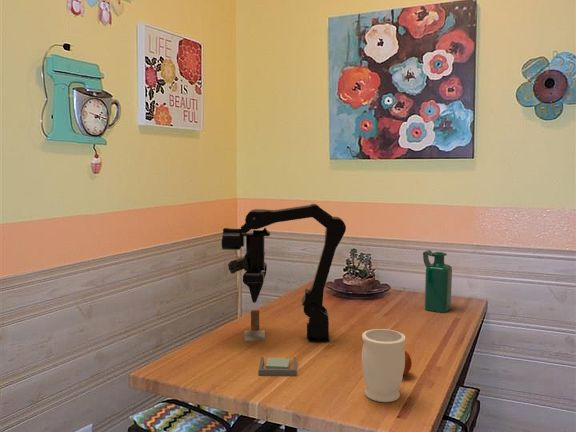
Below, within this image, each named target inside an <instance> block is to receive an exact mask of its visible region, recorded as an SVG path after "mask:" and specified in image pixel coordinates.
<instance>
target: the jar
mask: <svg viewBox="0 0 576 432" xmlns="http://www.w3.org/2000/svg"><path fill="white" fill-rule="evenodd" d="M361 338H362V340H363V344H362V349H361V368H362V369H361V370H362V376H363V381H364V384H365V386H366V389H365V391H364V394H365V396H366V397H367V398H368V399H370V400H371V401H372V400H373V401H375V402H380V403H390V402H395V401H397V400H398V399H400V395H401V394H400V391H399V389H400V387H401V385H402V382H403V377H404V375H403V372H404V367H405V351H406V350H405V347H404V344H405V342H406V336H405V334H404V333H402V332H400V331H397V330H392V329H387V328H375V329H369V330H366V331H364V332H362V334H361Z"/></svg>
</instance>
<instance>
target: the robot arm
mask: <svg viewBox="0 0 576 432" xmlns="http://www.w3.org/2000/svg"><path fill="white" fill-rule="evenodd" d="M309 218H312V219H314V220H315V221H317V222H318V223H319V224H320V225H322V226H323V227H324V228H325V230H324V231H325V232H324V233H325V234H324V244H323V248H322V251H321V254H320V258H319V262H318V264H317V268H316V272H315V275H314V279H313V282H312V284H311V285H310V286H311V287H310V288H309V289H308V288H305V289H304V295H303V297H302V298H301V306H303V312H304V315H305V316H306V317H308V322H307V323H306V338H307V339H308V342H323V343H324V342H330V337H329V336H330V335H329V333H330V332H329V331H330V330H329V328H330V327H329V326H330V321H329V319H330V318H329V313H328V309H327V308H326V307H325V306H324V305H323V302H324V291H325V286H326V283H327V280H328V277H329V274H330V270H331V266H332V263H333V260H334V256H335V252H336V250H337V247H338V246H339V245H340V242H341V241H342V238H343V237H344V235H345V232H346V229H347V226H346V224H345V222H344V221H343V219H342V218H341V217H339V216H332V215H331V214H330V213H328V212H327V211H325V210H324V209H323V208H322V207H320V206H319V205H318V203H310V204H309V205H308V204H306V205H300V206H293V207H288V208H281V209H263V208H262V209H258V208H255V209H252V210H250V211H249V212H248V213H247V214H246V215H245V219H244V221H245V222H244V224H242V225H241V226H240V228H230V227H223V228H222V236H221V237H222V239H221V249H222V251H225V250H226V251H228V250H229V251H233V250H234V251H239V250H242V247H245V246H246V248H245V254H244V256H242V257H239V258H237V259H236V258H235V259H234V260H230V261H229V262H228V264H227V266H228V270H229V272H230V275H231V274H232V275H233V274H235V273H237V272H239V271H243V270H244V271H245V272H244V273H243V275H242V283H243V284H244V285H246V286H247V287H248V289H249V293H250V297H251V301H252V303H253V304H254V303H257V300H258V298H259V296H260V292H261V291H262V288H263V285H264V282H265V277H266V275H267V270H268V266H267V265H268V264H267V263H266V262H265V256H266V252H265V237H270V236H271V232H270V231H269V230H268V229H267V228H266V227H268V226H271V225H273V224H276V223H281V222H288V221H296V220H297V221H298V220H301V219H309ZM261 228H263V229H262V230H261ZM251 230H253V231H252V232H250V231H251Z"/></svg>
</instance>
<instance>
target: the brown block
mask: <svg viewBox="0 0 576 432" xmlns="http://www.w3.org/2000/svg"><path fill="white" fill-rule="evenodd" d="M265 341H266V330H260V310H255V309H253V310H251V311H250V330H246V329H245V330H244V342H265Z"/></svg>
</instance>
